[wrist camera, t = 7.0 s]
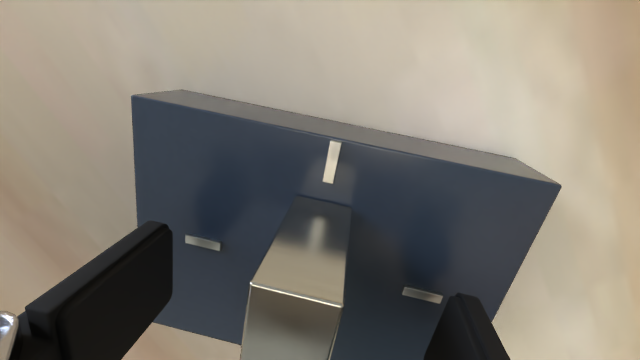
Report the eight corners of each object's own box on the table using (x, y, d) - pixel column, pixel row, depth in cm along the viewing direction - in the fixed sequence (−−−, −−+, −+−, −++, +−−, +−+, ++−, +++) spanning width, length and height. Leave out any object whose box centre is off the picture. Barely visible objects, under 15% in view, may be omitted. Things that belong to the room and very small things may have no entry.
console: (179, 277, 16) (138, 322, 13) (181, 89, 13) (126, 94, 10) (436, 341, 15) (453, 404, 13) (516, 158, 12) (567, 187, 9)
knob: (295, 193, 10) (242, 290, 6) (353, 206, 10) (344, 315, 6) (275, 316, 12) (224, 458, 8) (322, 328, 12) (298, 479, 8)
